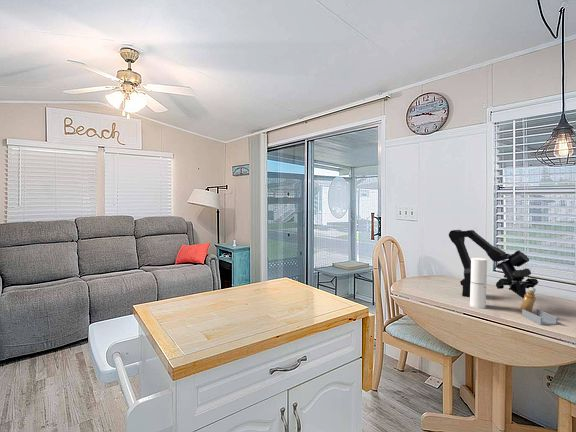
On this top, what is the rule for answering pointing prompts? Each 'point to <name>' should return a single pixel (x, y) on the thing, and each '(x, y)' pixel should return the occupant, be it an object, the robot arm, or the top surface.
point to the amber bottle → (528, 300)
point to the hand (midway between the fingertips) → (525, 298)
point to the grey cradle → (540, 317)
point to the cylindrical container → (478, 282)
